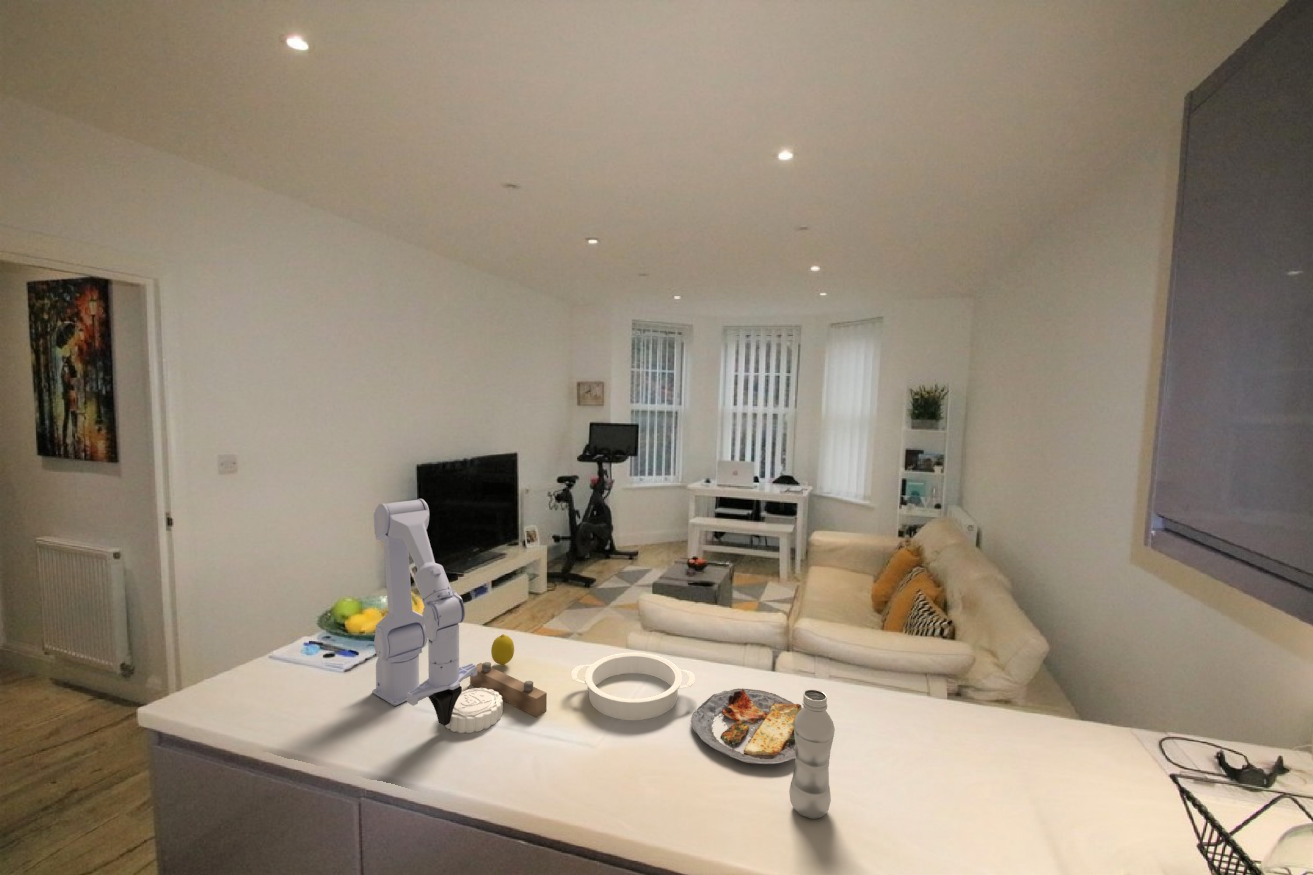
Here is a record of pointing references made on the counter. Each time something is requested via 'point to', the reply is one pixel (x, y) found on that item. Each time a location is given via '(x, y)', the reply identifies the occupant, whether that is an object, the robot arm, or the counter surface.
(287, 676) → the counter surface
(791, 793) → the plastic bottle
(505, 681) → the bar
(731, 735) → the food plate
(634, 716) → the pot
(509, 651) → the lemon
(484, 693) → the mooncake
